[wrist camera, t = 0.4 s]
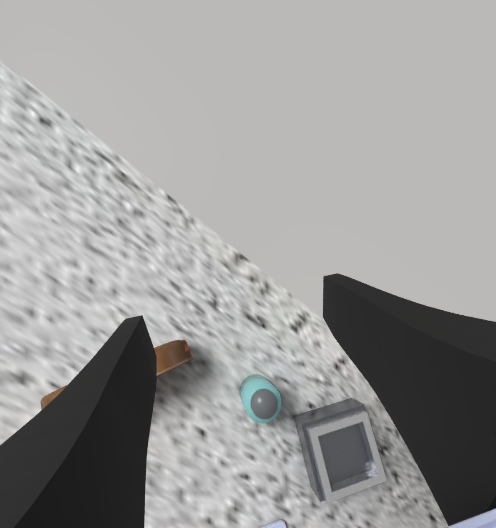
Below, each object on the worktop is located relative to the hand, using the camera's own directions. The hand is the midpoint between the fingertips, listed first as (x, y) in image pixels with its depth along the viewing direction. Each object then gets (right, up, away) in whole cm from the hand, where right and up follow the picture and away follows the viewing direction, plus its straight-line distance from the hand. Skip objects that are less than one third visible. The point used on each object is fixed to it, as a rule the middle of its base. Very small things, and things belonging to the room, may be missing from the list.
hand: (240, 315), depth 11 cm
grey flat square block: (+11, -20, +24) cm, 33 cm away
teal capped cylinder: (+1, -14, +24) cm, 28 cm away
